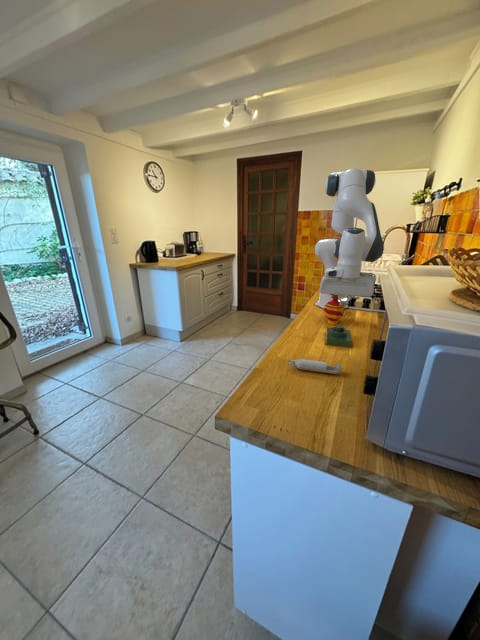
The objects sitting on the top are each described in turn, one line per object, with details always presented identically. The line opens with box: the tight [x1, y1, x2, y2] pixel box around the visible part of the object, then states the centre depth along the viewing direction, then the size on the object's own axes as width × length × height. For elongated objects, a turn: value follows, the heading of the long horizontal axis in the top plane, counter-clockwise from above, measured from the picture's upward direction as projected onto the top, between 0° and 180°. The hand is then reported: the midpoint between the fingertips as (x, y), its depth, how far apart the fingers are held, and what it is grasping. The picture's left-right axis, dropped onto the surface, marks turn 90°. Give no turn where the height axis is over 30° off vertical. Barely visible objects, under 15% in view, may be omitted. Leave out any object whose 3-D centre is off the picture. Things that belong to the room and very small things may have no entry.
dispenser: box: [325, 326, 353, 348], centre depth 110 cm, size 12×10×5 cm
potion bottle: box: [322, 294, 345, 325], centre depth 127 cm, size 10×10×15 cm
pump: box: [334, 324, 345, 332], centre depth 109 cm, size 4×4×2 cm
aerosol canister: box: [287, 358, 342, 375], centre depth 88 cm, size 18×5×6 cm, turn 75°
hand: (343, 305), depth 105 cm, fingers closed
